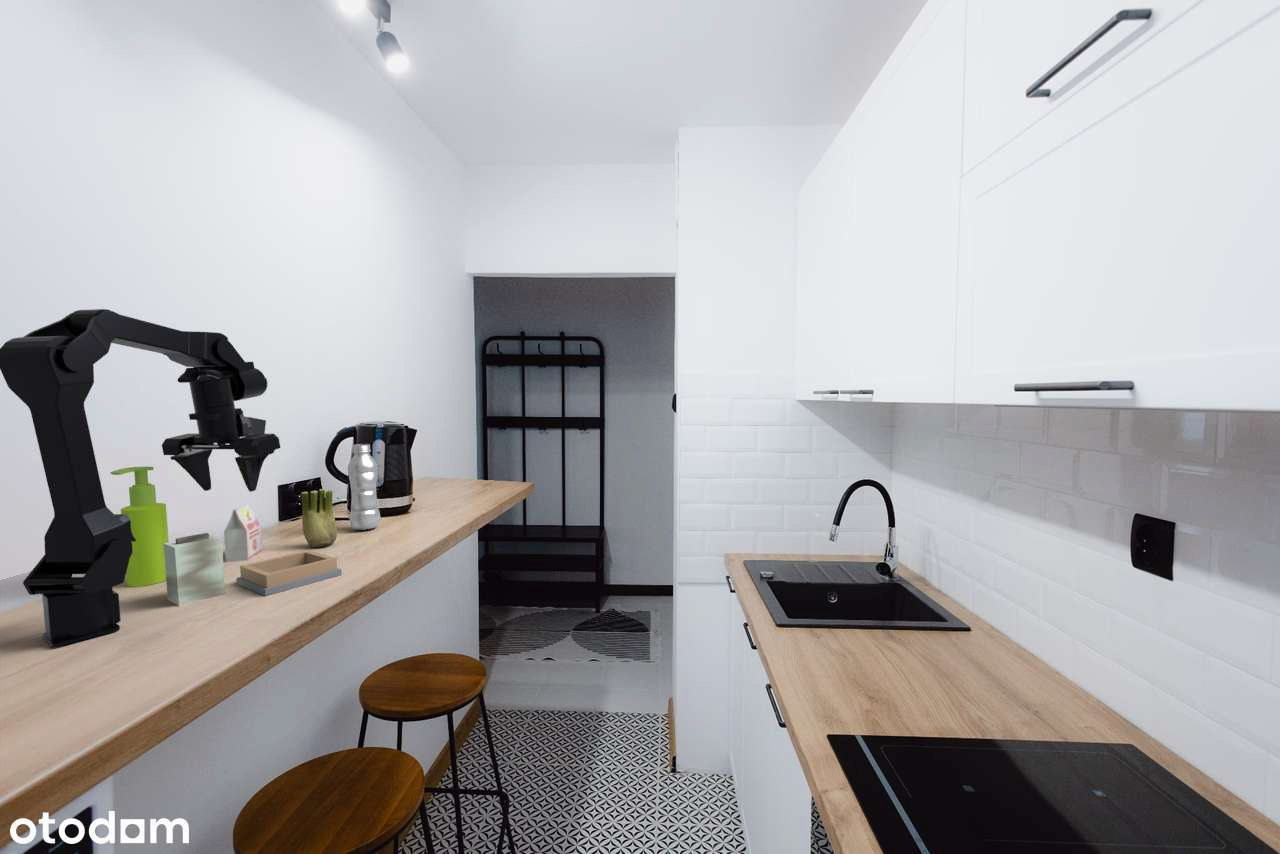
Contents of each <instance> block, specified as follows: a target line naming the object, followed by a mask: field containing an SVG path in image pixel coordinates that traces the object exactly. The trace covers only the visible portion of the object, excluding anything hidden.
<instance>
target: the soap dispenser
mask: <svg viewBox="0 0 1280 854" xmlns="http://www.w3.org/2000/svg"><path fill="white" fill-rule="evenodd" d="M148 471H154V466H131V467H130V466H129V467H124V468H119V469H115V470H113V471H111V472H109V473H110V474H111V475H113V476H114V475H115V476H116V475H117V476H118V475H124V474H128V473H134V484H133V485H131V486H130V487H128V491H129V492H128V494H129V504H130V505H129V506H125V507H122V508H120V514H127V515H128V516H129V518H130V520H131V532H132V534H133V536H134V538H135V539H136V541H135V542H132V549H133V551H132V555H131V557H130V559H129V563H128V567H127V571H126V576H125V580H126V586H127V587H132V586H136V587H144V585H146V586H149V585H155V584H159V583H164V582H166V569H165V556H164V543H168V542H170V541H169V529H168V515H167V514H168V513H167V504H166V503H164V502H157V493H156V484H152V483H151V482H150V483H149V475H148Z"/></svg>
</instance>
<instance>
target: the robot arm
mask: <svg viewBox="0 0 1280 854" xmlns="http://www.w3.org/2000/svg"><path fill="white" fill-rule="evenodd" d="M112 344H115V345H120V346H125V347H130V348H134V349H138V350H144V351H150V352H152V353H153V352H154V353H158V354H162V355H164V356H166V357H167V358H168V359H169V360H170V361H171V362H174V363H177V364H179V365H182V366H184V367H186V368H185V370H184V372H183V373H182V374H181V375H179V377H178V378H177V383H183V384H184V383H185V384H186V383H188V384H189V388H190V395H191V399H192V404H193V409H194V412H192V413H188V417H189V420H190V421H192V420H193V421H196V425H197V429H198V430H197V431H198V433H185V434H181V435H176V436H172V437H168V438H165V439H164V440H163V442H162V444H161V449H162V453H163V456H170V457H169V458H170V460H171V461H175V462H176V463H177V464H178V465H179V466H180V467H181V468H182V469H183V470H184V471H185V472H187V473H188V474H189V476H190V477H191V478H192V479H193V480H194V481H195V482H196V483H197V484H198V485H199V487H200V488H201V489H202V490H204V491H205V492H206V491H210V490H212V477H211V472H210V465H209V458H210V456H211V454H212V452H213V450H234V452H235V454H236V455H238V456H236V457H234V459H235V462H236V464H237V468H238V470H239V472H240V474H241V477H242V479H243V482H244V485H245V486H246V488H247V490H248V491H249V492H255V491H256V490H257V488H258V487H257V486H258V482H259V478H260V475H261V470H262V467H263V464H264V461H265V460H266V459H267V458H268V456H269V455H272V454H274V453H275V450H278V449H281V443H280V438H279V437H278V436H277V435H276V433H265V432H266V425H267V424H266V423H267V420H266V419H261V418H257V417H256V418H255V417H251V416H250V417H249V416H244V410H243V409H242V407H241V408H240V407H239V408H237V407H236V406H235V402H237V401H241V400H248V399H251V398H256V397H260V396H262V395H263V394H265V393H266V391H267V389H268V379H267V378H266V377H265V375H264V373H263V372H262V371H261V370H260V369H258V368H256V367H255V363H254V362H253V361H245V360H244V358H243V357H242V356H241V354H240V353H239V352H238V351H237V349H236V348H235V347H234V346H233V344H232V343H231V342H230V341H229V338H228V336H226V335H225V334H223V333H221V332H216V331H215V332H214V331H213V332H212V331H186V330H185V331H184V330H180V329H176V328H172V327H167V326H164V325H160V324H156V323H154V322H149V321H146V320H141V319H139V318H134V317H130V316H127V315H123V314H119V313H118V312H115V311H113V310H110V309H106V308H102V309H101V308H99V309H78V310H74V311H73V312H70V313H69V314H68V315H67V314H66V316H64V317H63V318H62V319H60V320H58V321H55V322H52V323H50V324H48V325H45V326H43V327H40V328H37V329H36V330H33V331H30V332H29V333H27V334H26V335H24V336H19V337H15V338H14V337H13V338H11V339H8V341H6V342H4V343H3V345H2V346H1V347H0V371H1V374H2V376H3V379H4V380H5V383H6V386H7V387H8V389H9V390H10V391H11V392H12V393H14V395H16V396H17V397H18V398H19V399H20V400H21V401H22V402H23V403H24V404H25V405H26V406H27V407H28V409H29V411H30V414H31V418H32V419H31V420H32V424H33V427H34V431H35V437H36V440H37V444H38V448H39V452H40V453H39V454H40V456H41V461H42V462H41V463H42V466H43V470H44V475H45V478H46V484H47V487H48V491H49V495H50V499H51V504H52V508H53V514H54V516H53V518H52V520H51V522H50V524H49V526H48V528H47V530H46V532H45V534H44V537H43V538H44V555H43V556H42V558H41V559H40V560H39V561H38V562H37V563H36V565H35V566H34V568H32V570H31V571H30V572H29V573H28V575H27V576H26V577H25V579H23V582H22V584H23V586H24V588H25V590H26V591H27V594H28V595H31V596H35V595H41V597H42V606H43V617H44V627H45V628H44V629H45V632H43V633H42V634H41V635H42V638H43V639H44V640H45V641H46V642H47V643H48V644H49V646H51V647H52V648H58V647H61V646H62V647H63V646H65V645H68V644H72V643H76V642H81V641H83V640H88V639H91V638H95V637H98V636H102V635H106V634H108V633H109V634H111V633H113V632H116V631H119V630H120V629H121V627H120V625H119V624H118V623H120V622H121V619H122V618H121V609H120V596H119V593H118V592H116V591H115V590H113V588H114V587H116V586H119V585H122V584H124V582H125V580H126V571H127V567H128V563H129V559H130V557H131V555H132V551H133V549H132V542H135V541H136V539H135V538H134V536H133V534H132V532H131V520H130V518H129V516H128V515H127V514H121V513H119V514H118V513H116V514H114V512H112V510H110V509H109V508H108V507H107V505H106V500H105V497H104V493H103V487H102V483H101V479H100V478H101V477H100V473H99V470H98V464H97V459H96V454H95V450H94V446H93V440H92V438H91V437H92V436H91V432H90V427H89V422H88V418H87V413H86V410H85V402H86V400H87V397H88V396H89V393H90V391H92V390H91V389H92V387H93V385H94V383H95V376H94V375H95V372H94V370H95V369H94V368H95V367H94V364H96V363H97V362H98V361H100V360H101V359H102V358H104V357H105V356H106V355H107V354H108V353H109V351H110V348H111V345H112ZM73 575H83V576H73Z"/></svg>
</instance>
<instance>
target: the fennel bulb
mask: <svg viewBox="0 0 1280 854" xmlns="http://www.w3.org/2000/svg"><path fill="white" fill-rule="evenodd" d="M318 491H319V493H318ZM318 494H319V495H318ZM309 495H310V497H309ZM318 496H319V497H318ZM300 497H301V505H302V509H301V510H302V516H301V517H302V518H301V519H302V532H303V535H304V538H305V540H306V542H307V545H308V546H309V547H313V548H325V547H329V546H331V545H332V544H334V543H335V541H336V540H337V537H338V531H337V522H336V518H335V515H334V510H333V491H332V490H329V489H326V490H325V488H324V489H323V488H320V489H319V490H312V491H310V492H308V491H304V492H303V491H302V492H300Z"/></svg>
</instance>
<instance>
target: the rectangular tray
mask: <svg viewBox="0 0 1280 854" xmlns="http://www.w3.org/2000/svg"><path fill="white" fill-rule="evenodd" d="M239 570H240V577H236V579H235V580H236V581H235V582H236V585H238V586H241V587H244V588H246V589H248V590H250V591H253V592H254V593H257V594H261V595H262V596H265V597H267V596H269V595H270V596H271V595H274V594H277V593H280V592H281V593H282V592H285V591H289V590H291V589H295V588H299V587H304V586H307V585H310V584H315V583H317V582H321V581H324V580H328V579H332V578H335V577H339V576H342V569H341V568H339V567H338V565H337V557H333V556H330V555H326V554H322V553H320V552H315V551H312V550H309V549H308V550H304V551H300V552H295V553H291V554H286V555H283V556H277V557H274V558H269V559H266V560H265V559H264V560H259V561H256V562H251V563H247V564H244V565H240V566H239Z"/></svg>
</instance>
